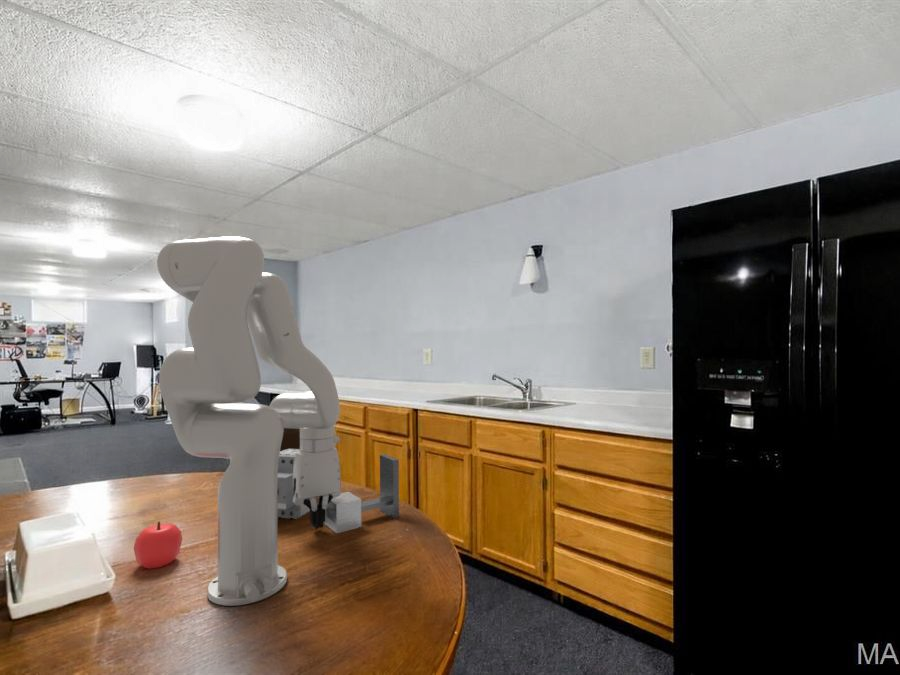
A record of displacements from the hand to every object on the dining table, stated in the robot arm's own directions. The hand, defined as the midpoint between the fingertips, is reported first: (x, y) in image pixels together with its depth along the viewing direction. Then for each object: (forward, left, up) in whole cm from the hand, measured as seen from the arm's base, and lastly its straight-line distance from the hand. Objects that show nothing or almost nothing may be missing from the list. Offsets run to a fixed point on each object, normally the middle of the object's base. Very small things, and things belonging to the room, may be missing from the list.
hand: (317, 526), depth 103 cm
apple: (+4, +30, -2) cm, 30 cm away
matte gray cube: (0, -6, -1) cm, 6 cm away
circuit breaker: (+14, +3, -1) cm, 14 cm away
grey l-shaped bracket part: (0, -14, -1) cm, 14 cm away
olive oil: (+32, -2, -1) cm, 32 cm away
